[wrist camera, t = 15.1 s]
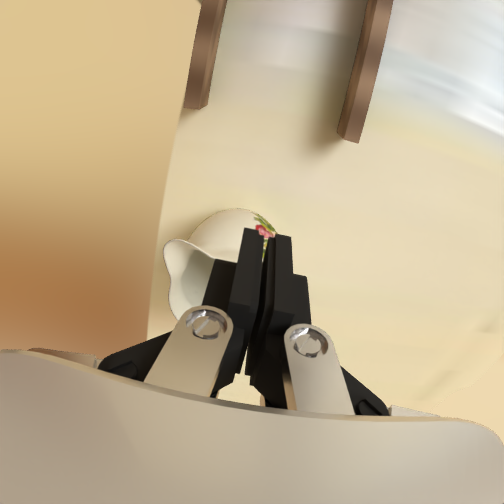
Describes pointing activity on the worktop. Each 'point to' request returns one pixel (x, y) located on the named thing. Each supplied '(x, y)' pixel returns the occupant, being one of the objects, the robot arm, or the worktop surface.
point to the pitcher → (207, 254)
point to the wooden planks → (360, 77)
